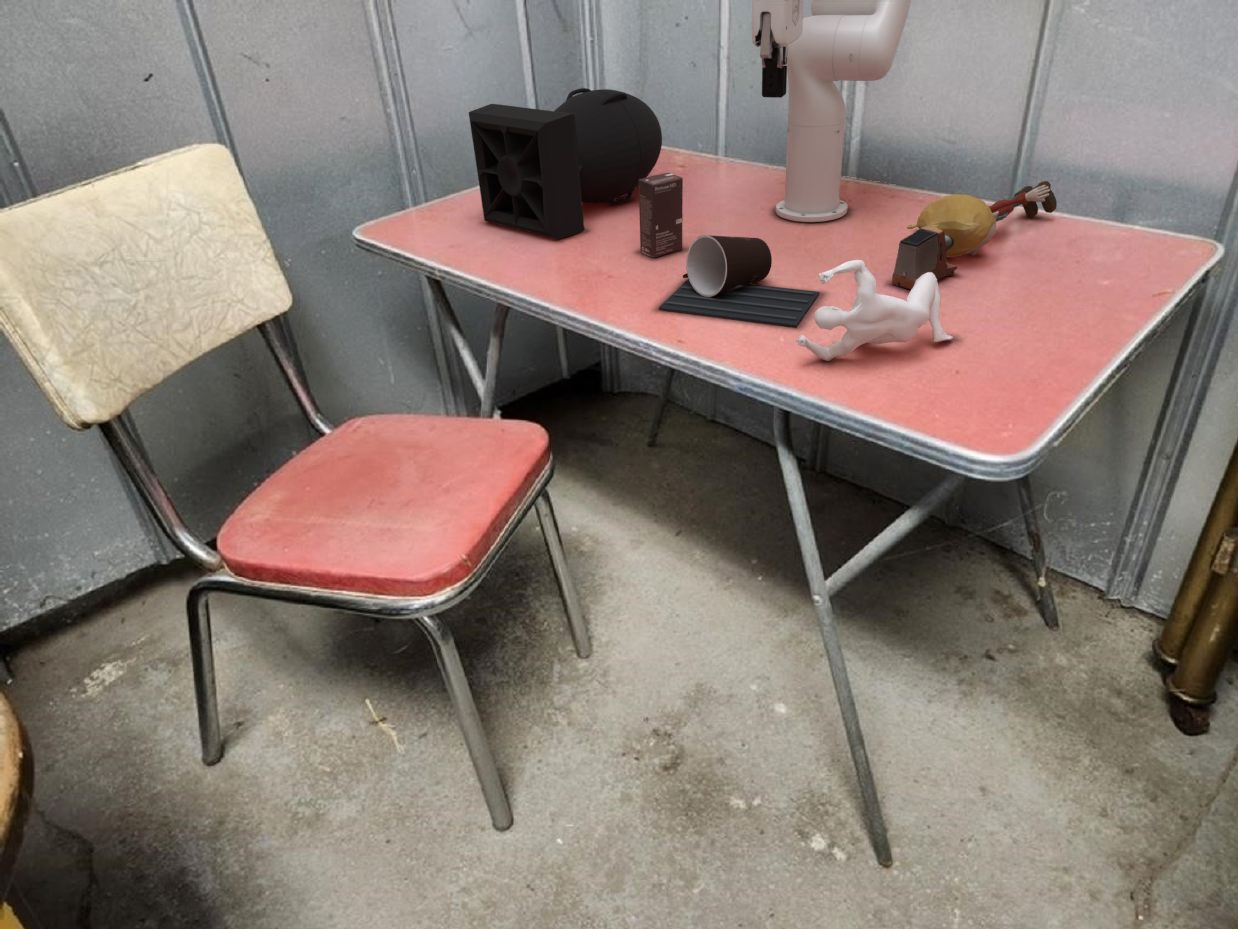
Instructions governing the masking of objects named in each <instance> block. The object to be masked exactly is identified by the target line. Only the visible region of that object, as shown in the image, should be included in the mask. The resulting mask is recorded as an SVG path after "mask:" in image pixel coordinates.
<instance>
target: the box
mask: <svg viewBox="0 0 1238 929" xmlns="http://www.w3.org/2000/svg"><path fill="white" fill-rule="evenodd" d="M683 182H684V178H683V177H682V176H679V175H676V174H674V173H670V172H665V173H660V174H654V175H650V176H647V178H643V179H639V186H638V203H639V205H638V208H639V210H638V211H639V213H638V214H639V241H640V242H639V245H640V246H639V247H640V248H639V249H640V252H641V254H644V255H646V256H647V257H651V258H657V257H661V256H664V255H667V254H671V253H674V252H678V251H682V250H683V196H684V194H683V190H684V188H683V187H684V186H683Z"/></svg>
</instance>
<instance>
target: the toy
mask: <svg viewBox="0 0 1238 929" xmlns="http://www.w3.org/2000/svg"><path fill="white" fill-rule="evenodd" d="M1051 186H1052V184H1051V183H1050V182H1049V181H1048V180H1042V181H1041V182H1039V183H1038V184H1037V185H1036V186H1034V187H1033V185H1027V186H1024V187H1022V188H1021V189H1019V190H1018V191H1017V192H1016V193H1014V194H1013V197H1012V198H1011V199H1000V200H998V201H997V200H996V201H995V202H994V203H993V204H991V205H988V204H987V203H986V202H985V201H984V200H982V199H981V198H978V197H976V196H973V195H970V194H961V193H959V194H950V195H944V196H943V197H941V198H939V199H937V200H934V201H933V202H931V203H929V204H928V205H926V206H925V207H924V208H923V209H922V210H921V212H920V214H919V216H918V218H917V221H916V224H910V225H908V226H906V229H907V230H912V229H915V228H918V230H920V229H921V228H922V227H925V226H928V227H933V228H936V229H940V230H943V231H944V233H945V235H949V236H951V237H952V239H953V240H954V244H953V246H952V247H951V248H950V249H949V250H947V251H946V258H954V257H956V258H957V257H961V256H964V255H967V254H970V255H971V256H976V255H977V253H978V252H979V250H980V249H981V248H983V247H984V246H985V245H986V244H987V243H989V241H990V240H992V239H993V238H994V236H995V235H996V233H997V222H1000V221H1002V220H1004V219H1006V218H1007V217H1008V216H1009V215H1010V214H1011V213H1012V212H1014V210H1015V208H1017V207H1019V206H1021V205H1022V207H1023V210H1024V213H1025V215H1026V216H1027V218H1030V219H1033V218H1035V217H1036V216H1037V215H1038V213H1039V207H1038V203H1041V206H1042V208H1043V210H1044V212H1045V213H1048V214H1052V213H1054V212H1055V211H1056V210H1057V204H1058V202H1057V198H1056V196H1055V193H1054V192H1053V191H1052V189H1051V188H1052V187H1051Z"/></svg>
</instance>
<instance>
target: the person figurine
mask: <svg viewBox="0 0 1238 929" xmlns="http://www.w3.org/2000/svg"><path fill="white" fill-rule="evenodd" d="M848 273H854V280H855V282H856V285H857V290H856V293H855V296H856V297H855V299H854V301H853V302H852V304H851V310H843V309H842V307H841V306H839V307H838V306H833V305H824V306H820V307H819V308H817V309H816V310H815V311H814V316H813V317H814V322H815V324H816V325H817V326H818V328H819V329H823V330H828V331H832V330H834V329H835V328H838V327H844V328H845V329H846V331H845V332H844V334H843V335H842V337H841V340H837V341H835V342H833V343H832V344H831V345H830V346H824V345H820V344H817V343H815V342H813V341H810V340H809V339H808V338H807V336H805V335H804V334H801V335H799V337H797V340H796V342H797V345H798V346H801V347H804V348H806V349H807V350H808V351H810V352H812V354H814V355H815V356H816V357H817V358H818V359H820V360H823V361H826V362H830V361H831V360H833V359H834V358H837V357H846V356H848V355H850V354H852V353H853V352H854V351H855V350H856V349H857V348H859V347H860V346H862V345H864V344H877V345H882V344H890V343H907V342H909V341H911V340H914V338H915V336H916V335H917V333H918V331H919V329H920V328H921V327H923V326H924V325H926V324H927V322H929V324H930V326H931V330H932V333H933V334H932V341H933V342H934V343H939V342H944V341H951V340H954V336H952V335H949V334H948V333H946V332H945V330H944V329H943V328H942V323H941V317H940V314H941V300H942V299H941V298H942V297H941V296H942V295H941V290H940V287H939V283H938V280H937V278H936V277H935V275H934V274H933V273H932V272H927V273H925V274H923V275H922V276H920V277H919V278H918V279H917V280H916V282H915V284H914V287H913V288H912V290H910V291H909V292H908V295H907V297H906V299H902V298H898V297H896V296H892V295H887V294H881V293H880V294H879V293H877V280H876V277H875V276H874V275H873V273H871V271H870V270H869V269H868V268H867V267H866V263H865V262H864V261H863V260H862V259H853V260H848V261H846V262H842V264H840V265H837V266H836V267H834V268H832V269H829V270H826V271H823V272H819V273H818V278H819V282H821V283H822V284H826V283H829V281H832V279H833V277H834V276H836V275H841V274H842V275H843V274H848Z"/></svg>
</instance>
